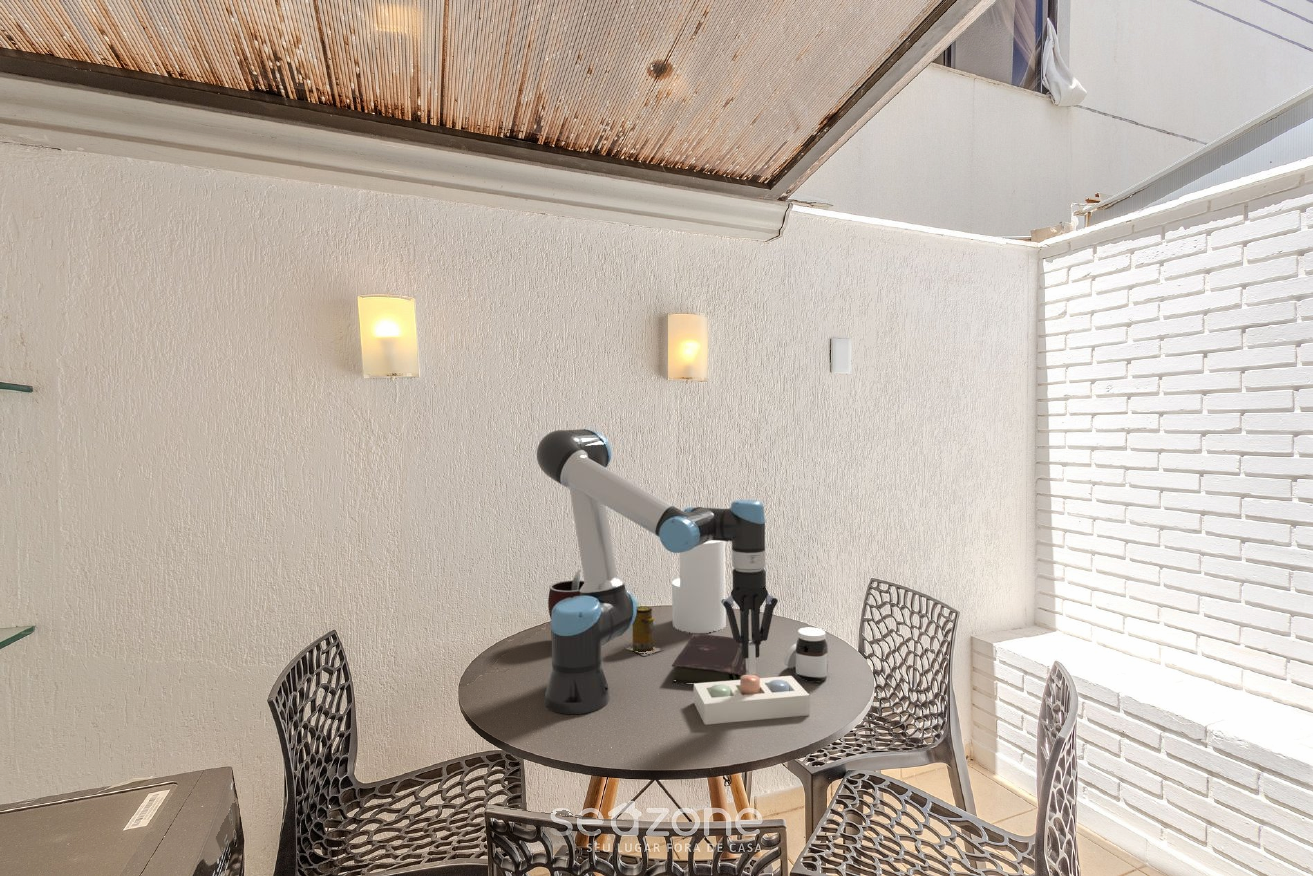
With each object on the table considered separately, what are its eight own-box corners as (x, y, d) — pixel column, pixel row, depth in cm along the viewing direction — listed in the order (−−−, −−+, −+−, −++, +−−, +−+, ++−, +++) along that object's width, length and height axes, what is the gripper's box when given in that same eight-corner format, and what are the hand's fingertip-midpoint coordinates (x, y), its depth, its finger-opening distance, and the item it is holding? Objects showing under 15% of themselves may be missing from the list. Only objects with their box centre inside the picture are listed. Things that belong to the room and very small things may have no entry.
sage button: (713, 708, 140) (713, 693, 140) (708, 700, 145) (708, 685, 145) (732, 706, 141) (732, 691, 141) (727, 698, 145) (727, 683, 145)
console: (704, 724, 137) (704, 704, 137) (693, 702, 148) (693, 683, 148) (809, 715, 141) (809, 695, 140) (791, 694, 151) (791, 675, 151)
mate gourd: (587, 651, 182) (586, 582, 181) (542, 649, 184) (541, 581, 184) (602, 633, 197) (601, 570, 197) (559, 631, 200) (558, 568, 199)
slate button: (773, 703, 143) (773, 688, 143) (767, 695, 147) (766, 680, 147) (792, 701, 143) (791, 686, 143) (785, 693, 148) (784, 679, 148)
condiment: (645, 643, 188) (644, 603, 188) (663, 651, 182) (663, 609, 181) (625, 649, 184) (625, 608, 183) (643, 657, 177) (643, 614, 177)
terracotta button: (743, 698, 142) (743, 683, 141) (738, 689, 146) (737, 675, 146) (762, 696, 142) (762, 681, 142) (756, 688, 147) (756, 673, 146)
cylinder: (736, 624, 205) (736, 538, 204) (700, 637, 193) (699, 546, 192) (697, 613, 217) (696, 532, 217) (661, 624, 205) (660, 539, 205)
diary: (754, 656, 179) (754, 638, 178) (742, 693, 155) (742, 672, 154) (689, 649, 184) (689, 632, 183) (668, 684, 159) (668, 664, 159)
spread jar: (823, 686, 156) (823, 639, 156) (778, 679, 161) (778, 634, 160) (831, 669, 167) (831, 625, 166) (789, 662, 171) (788, 620, 171)
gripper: (725, 574, 139) (727, 680, 139) (782, 570, 141) (784, 675, 141) (716, 566, 146) (718, 667, 146) (770, 563, 148) (772, 663, 149)
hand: (750, 671), depth 144 cm, fingers closed
